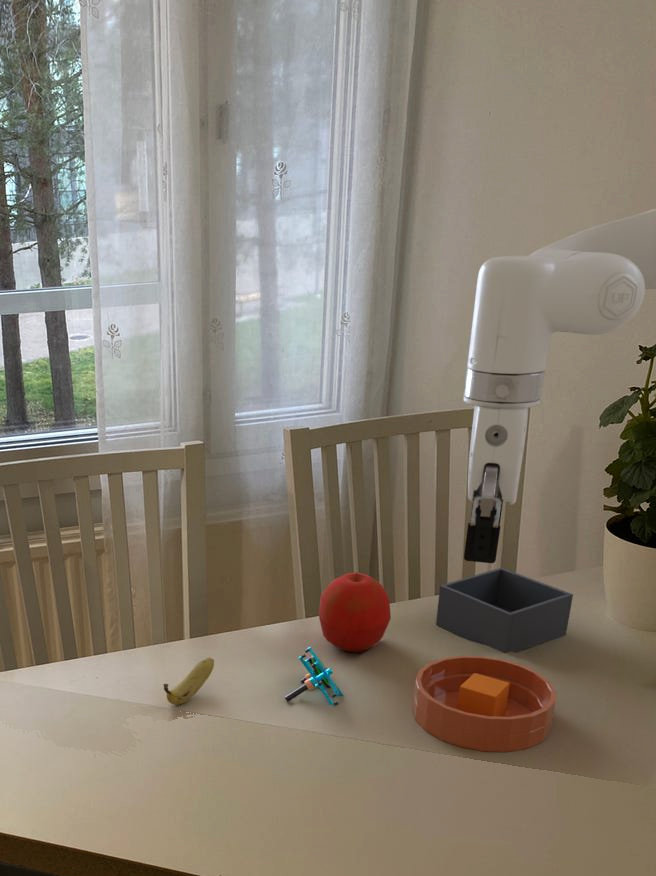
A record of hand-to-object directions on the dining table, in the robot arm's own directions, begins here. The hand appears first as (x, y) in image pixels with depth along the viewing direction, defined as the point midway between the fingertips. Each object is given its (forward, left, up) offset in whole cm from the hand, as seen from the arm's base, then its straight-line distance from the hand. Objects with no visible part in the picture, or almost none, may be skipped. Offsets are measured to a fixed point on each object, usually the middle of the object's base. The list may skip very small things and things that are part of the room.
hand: (481, 546), depth 100 cm
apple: (-6, -26, -24) cm, 36 cm away
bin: (-28, -18, -24) cm, 41 cm away
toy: (-5, -1, -23) cm, 24 cm away
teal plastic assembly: (+8, -18, -24) cm, 31 cm away
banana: (+22, -26, -24) cm, 42 cm away
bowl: (-5, -1, -24) cm, 24 cm away
